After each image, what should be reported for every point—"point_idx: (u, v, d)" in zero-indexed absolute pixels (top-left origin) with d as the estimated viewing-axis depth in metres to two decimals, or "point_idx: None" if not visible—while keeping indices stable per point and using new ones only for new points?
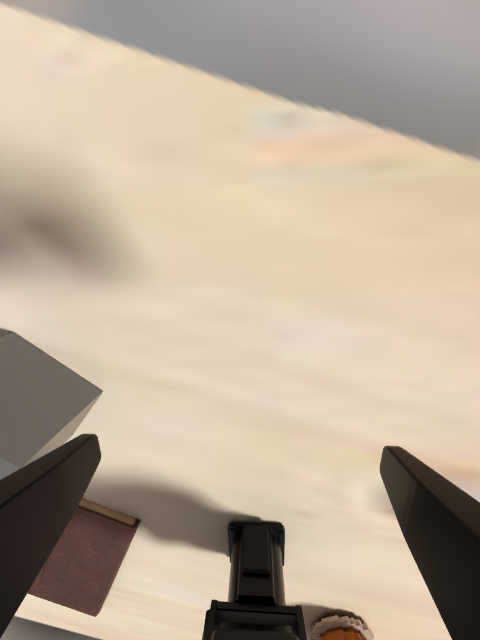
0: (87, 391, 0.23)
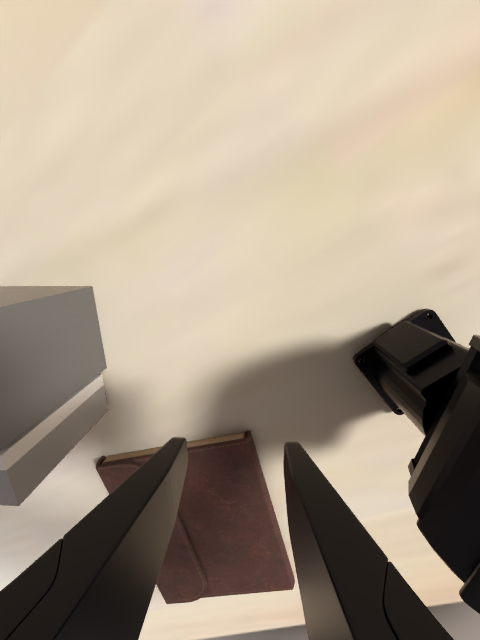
0: (70, 288, 0.18)
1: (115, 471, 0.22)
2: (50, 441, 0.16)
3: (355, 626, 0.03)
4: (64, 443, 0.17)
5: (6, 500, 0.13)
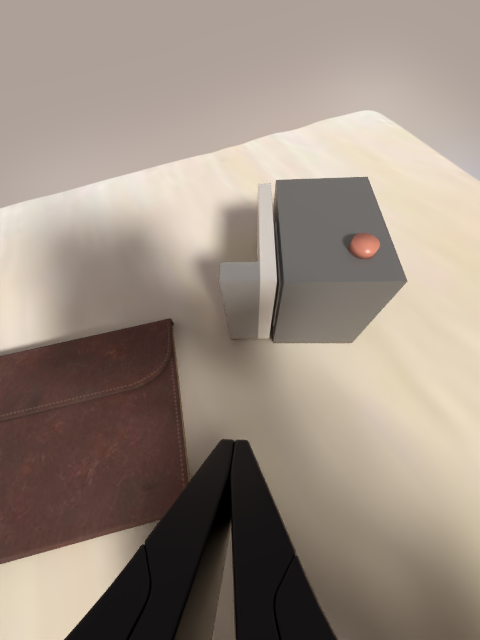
0: None
1: (162, 337, 0.22)
2: (250, 304, 0.17)
3: (242, 616, 0.03)
4: (237, 311, 0.18)
5: (225, 272, 0.15)
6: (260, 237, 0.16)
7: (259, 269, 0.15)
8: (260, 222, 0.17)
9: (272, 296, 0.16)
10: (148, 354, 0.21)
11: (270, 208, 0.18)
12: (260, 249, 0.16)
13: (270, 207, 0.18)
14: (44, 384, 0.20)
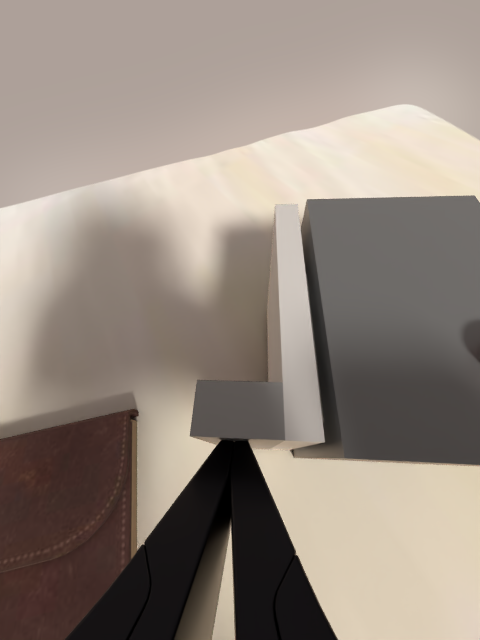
0: None
1: (114, 448, 0.13)
2: (259, 444, 0.09)
3: (242, 616, 0.03)
4: None
5: (206, 410, 0.07)
6: (282, 318, 0.08)
7: (282, 405, 0.07)
8: (281, 283, 0.09)
9: (306, 445, 0.08)
10: (86, 483, 0.13)
11: (299, 253, 0.09)
12: (283, 348, 0.08)
13: (299, 251, 0.09)
14: None
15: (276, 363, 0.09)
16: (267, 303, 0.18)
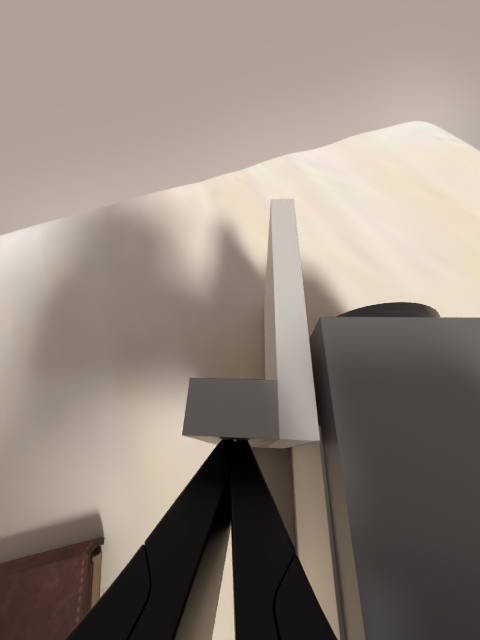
0: None
1: (65, 613, 0.10)
2: (255, 442, 0.08)
3: (241, 616, 0.03)
4: None
5: (199, 409, 0.07)
6: (277, 314, 0.08)
7: (277, 403, 0.07)
8: (276, 279, 0.09)
9: (302, 443, 0.08)
10: None
11: (295, 248, 0.09)
12: (278, 345, 0.07)
13: (295, 246, 0.09)
14: None
15: (272, 360, 0.09)
16: (264, 300, 0.18)
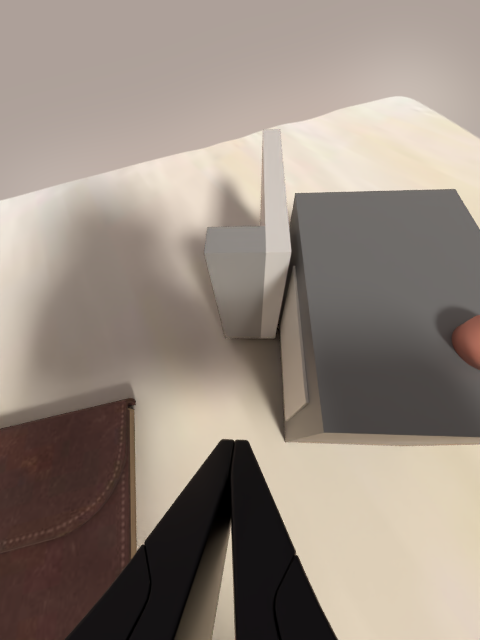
0: None
1: (112, 435, 0.14)
2: (251, 291, 0.12)
3: (242, 616, 0.03)
4: (232, 300, 0.13)
5: (214, 241, 0.10)
6: (266, 194, 0.11)
7: (264, 236, 0.10)
8: (266, 175, 0.12)
9: (282, 278, 0.11)
10: (86, 467, 0.13)
11: (280, 158, 0.13)
12: (266, 210, 0.11)
13: (279, 157, 0.13)
14: None
15: None
16: None
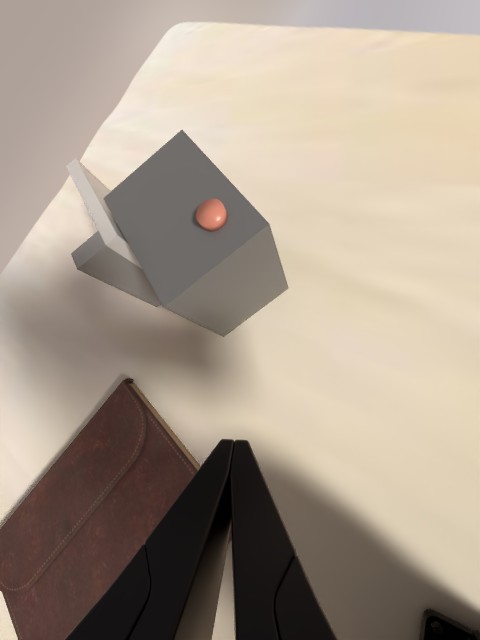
0: None
1: (128, 401, 0.21)
2: (128, 269, 0.18)
3: (242, 616, 0.03)
4: (127, 282, 0.19)
5: (78, 259, 0.16)
6: (89, 210, 0.17)
7: (101, 237, 0.16)
8: (83, 198, 0.17)
9: None
10: (126, 424, 0.21)
11: (85, 180, 0.18)
12: (94, 220, 0.17)
13: (85, 179, 0.18)
14: (64, 508, 0.20)
15: None
16: None
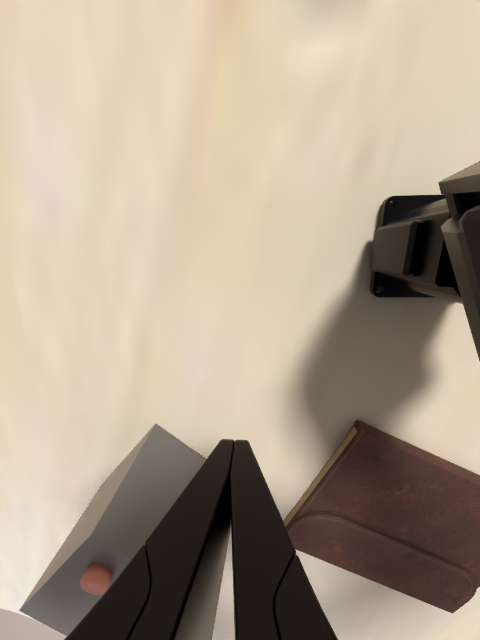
0: (144, 438, 0.21)
1: (294, 534, 0.23)
2: None
3: (242, 616, 0.03)
4: None
5: None
6: None
7: None
8: None
9: None
10: (314, 531, 0.23)
11: None
12: None
13: None
14: (397, 560, 0.23)
15: None
16: None
